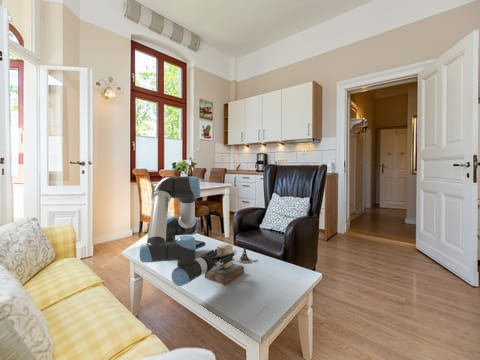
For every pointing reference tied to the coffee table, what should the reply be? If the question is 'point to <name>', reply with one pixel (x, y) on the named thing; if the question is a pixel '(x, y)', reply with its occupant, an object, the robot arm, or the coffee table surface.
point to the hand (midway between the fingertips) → (230, 250)
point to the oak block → (224, 253)
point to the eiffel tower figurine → (245, 257)
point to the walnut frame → (225, 273)
